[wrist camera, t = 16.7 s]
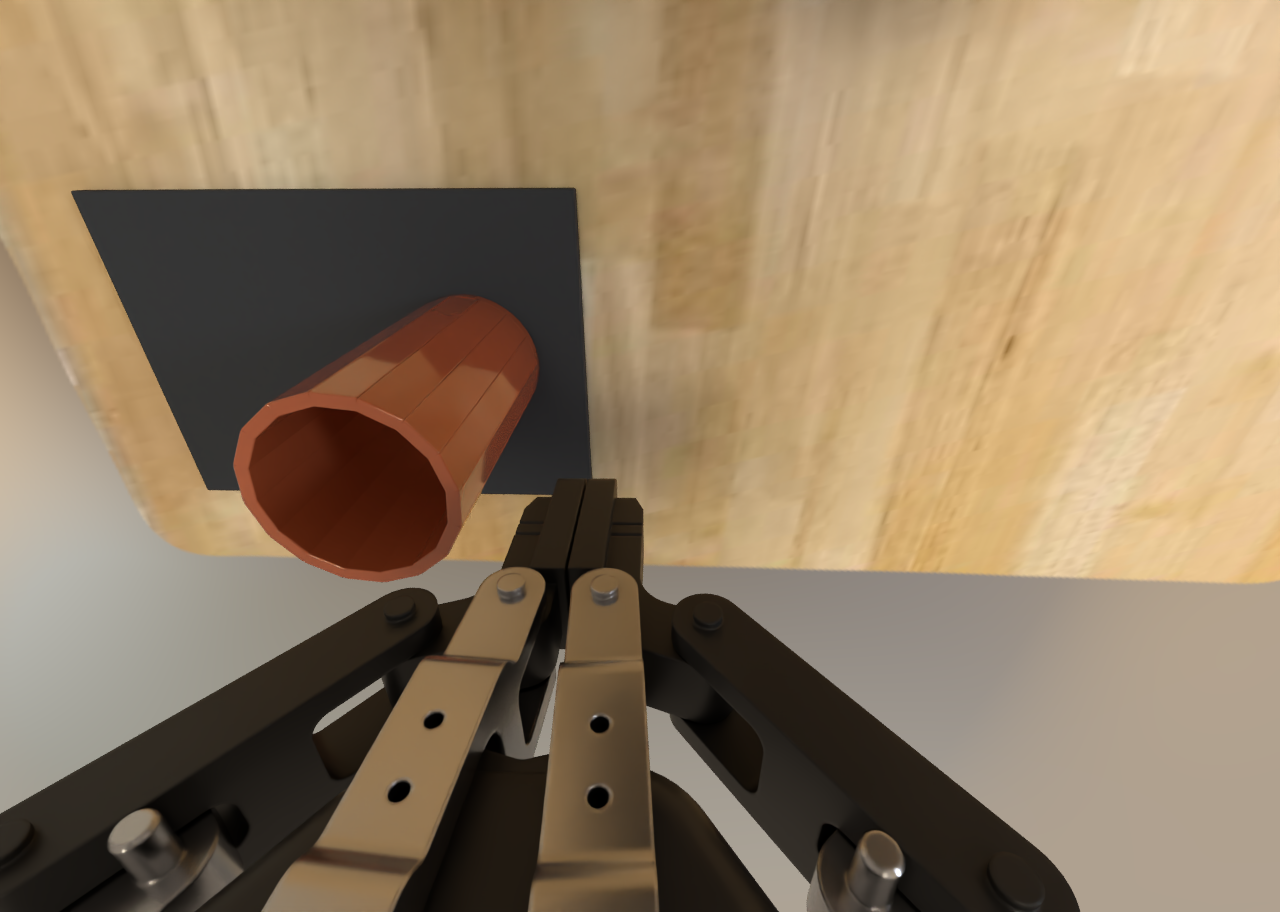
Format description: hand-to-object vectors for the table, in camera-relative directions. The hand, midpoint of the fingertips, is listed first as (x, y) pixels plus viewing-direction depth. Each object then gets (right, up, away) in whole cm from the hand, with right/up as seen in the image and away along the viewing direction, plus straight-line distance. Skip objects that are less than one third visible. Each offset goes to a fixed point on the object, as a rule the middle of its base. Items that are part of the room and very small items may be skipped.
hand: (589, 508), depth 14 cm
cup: (-6, +6, +10) cm, 13 cm away
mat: (-11, +6, +11) cm, 17 cm away
